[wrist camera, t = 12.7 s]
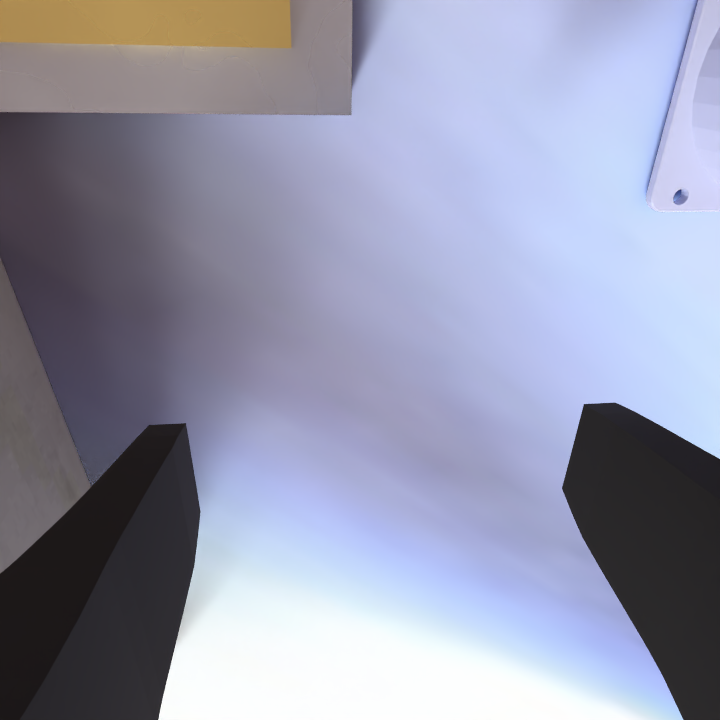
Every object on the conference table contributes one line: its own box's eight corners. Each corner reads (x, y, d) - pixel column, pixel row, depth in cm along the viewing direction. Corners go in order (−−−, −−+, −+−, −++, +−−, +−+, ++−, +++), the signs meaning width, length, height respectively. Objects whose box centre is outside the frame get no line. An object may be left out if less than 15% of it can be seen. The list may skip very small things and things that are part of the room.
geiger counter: (-1493, 703, 4) (-58, 1169, 17) (-566, 594, 5) (158, 1130, 17) (-164, 215, 16) (90, 696, 29) (58, 197, 17) (214, 680, 29)
